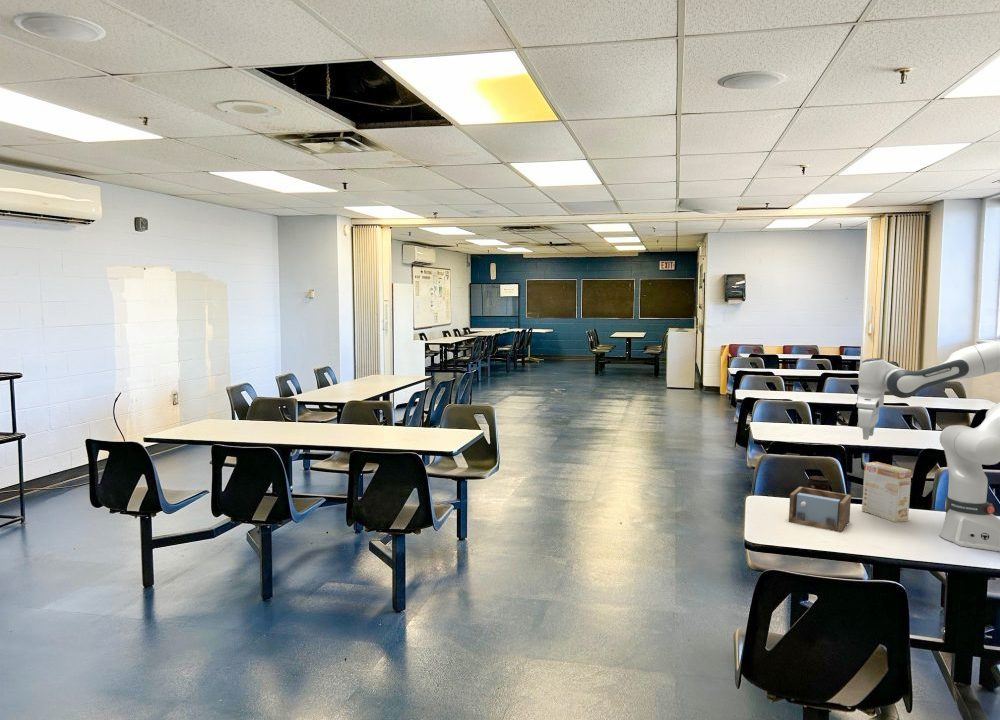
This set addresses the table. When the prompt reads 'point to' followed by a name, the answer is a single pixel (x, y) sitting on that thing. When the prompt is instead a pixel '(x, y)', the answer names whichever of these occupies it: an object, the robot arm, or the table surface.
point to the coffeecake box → (886, 491)
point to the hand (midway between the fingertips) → (868, 437)
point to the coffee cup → (819, 483)
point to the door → (818, 508)
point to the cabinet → (843, 518)
